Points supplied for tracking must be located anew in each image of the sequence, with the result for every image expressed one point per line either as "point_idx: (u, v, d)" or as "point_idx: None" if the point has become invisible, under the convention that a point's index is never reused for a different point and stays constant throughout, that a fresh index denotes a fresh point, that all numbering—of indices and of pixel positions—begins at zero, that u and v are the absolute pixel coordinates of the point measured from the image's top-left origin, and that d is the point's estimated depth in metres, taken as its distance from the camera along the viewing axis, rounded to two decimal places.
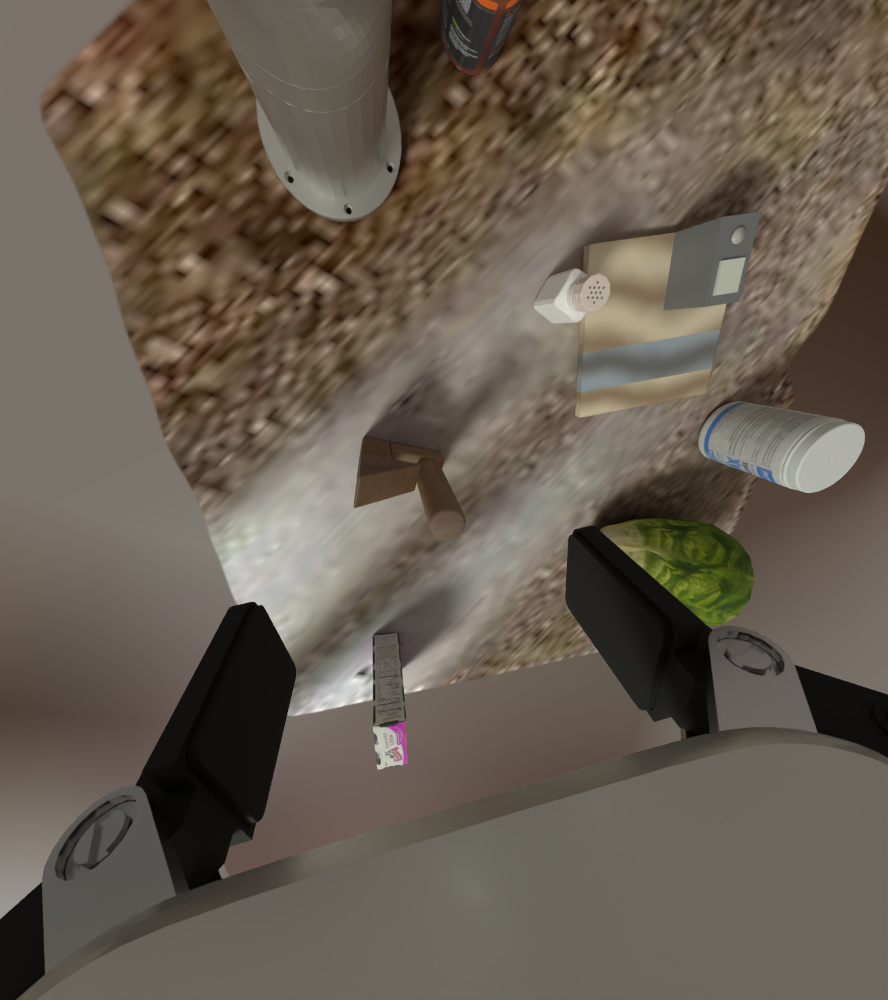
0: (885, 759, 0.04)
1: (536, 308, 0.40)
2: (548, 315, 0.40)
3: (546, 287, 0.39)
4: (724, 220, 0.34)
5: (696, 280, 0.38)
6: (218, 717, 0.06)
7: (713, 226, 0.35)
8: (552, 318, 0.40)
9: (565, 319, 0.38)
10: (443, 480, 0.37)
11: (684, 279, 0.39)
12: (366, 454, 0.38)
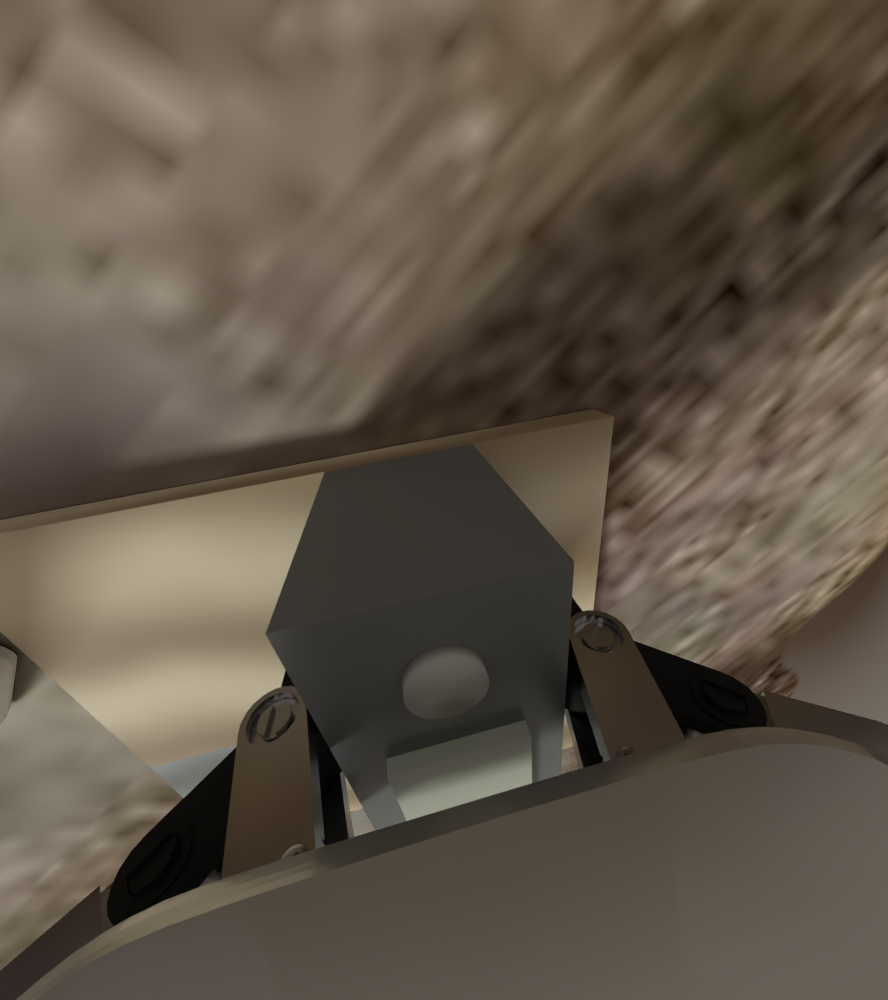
0: (885, 759, 0.04)
1: None
2: None
3: None
4: (302, 642, 0.05)
5: None
6: None
7: None
8: None
9: None
10: None
11: None
12: None
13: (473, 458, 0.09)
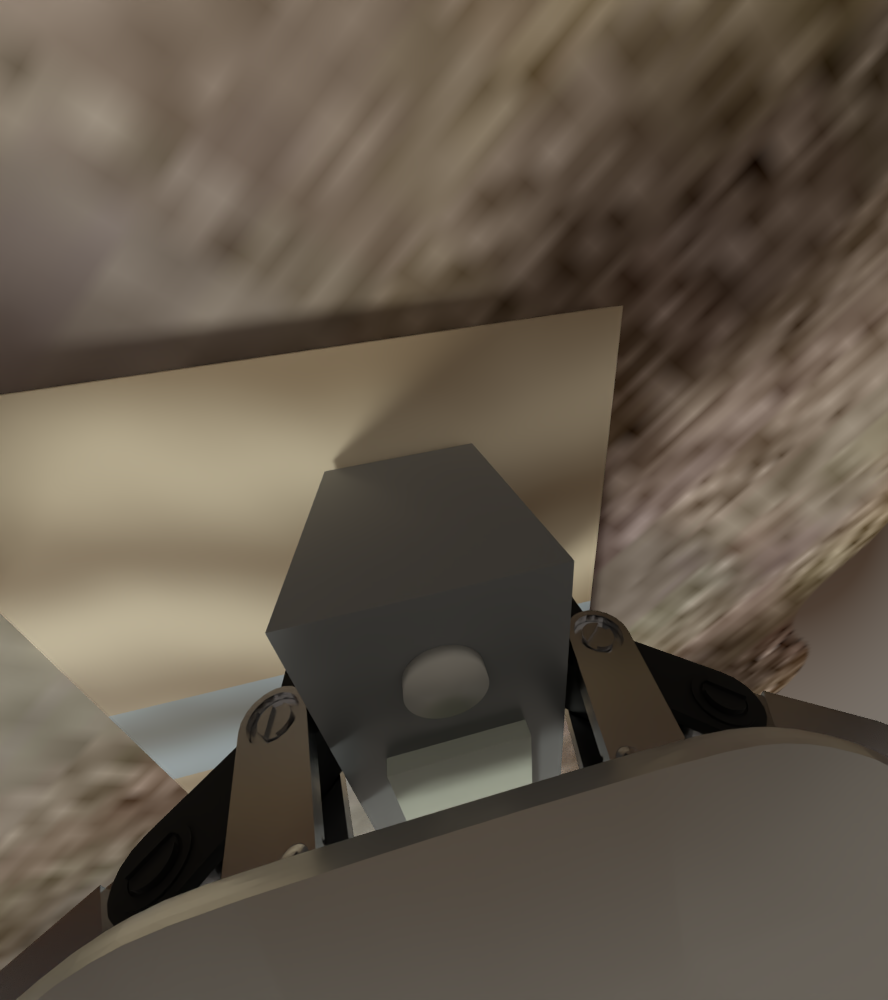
0: (885, 759, 0.04)
1: None
2: None
3: None
4: (301, 642, 0.05)
5: None
6: None
7: None
8: None
9: None
10: None
11: None
12: None
13: (473, 458, 0.09)
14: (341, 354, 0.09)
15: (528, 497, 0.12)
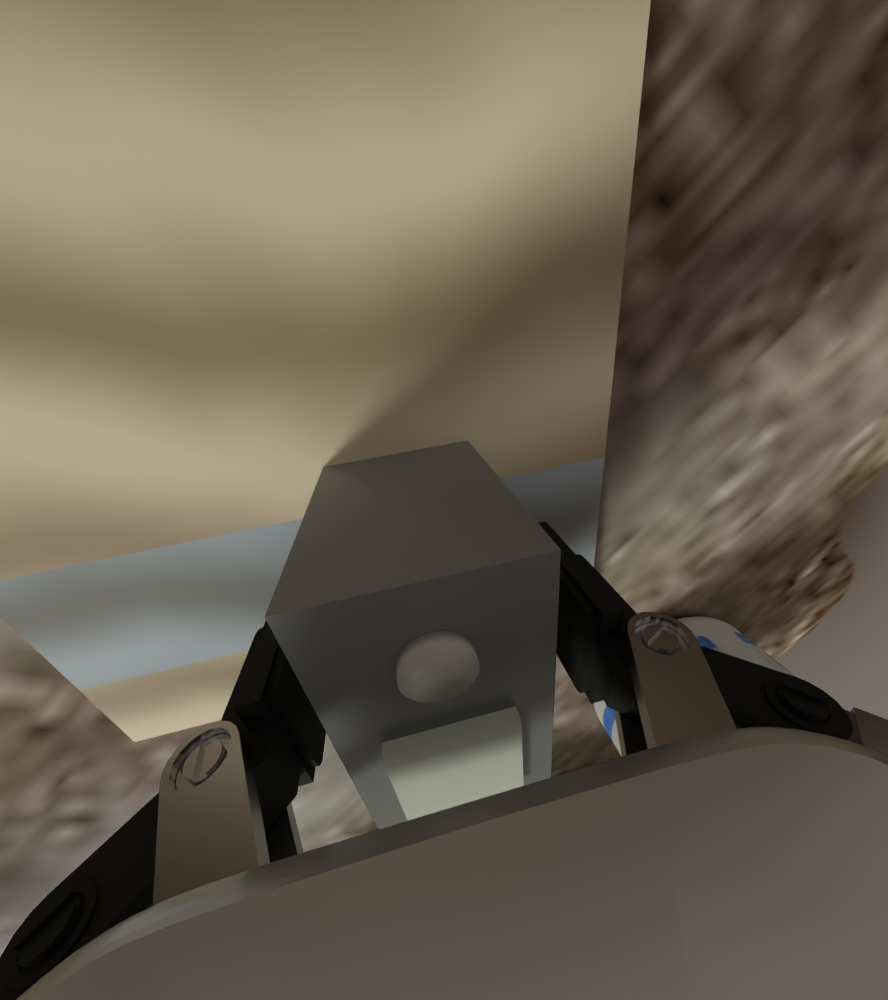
0: (885, 759, 0.04)
1: None
2: None
3: None
4: (299, 626, 0.05)
5: None
6: (288, 668, 0.07)
7: None
8: None
9: None
10: None
11: None
12: None
13: (467, 454, 0.09)
14: None
15: (523, 266, 0.09)
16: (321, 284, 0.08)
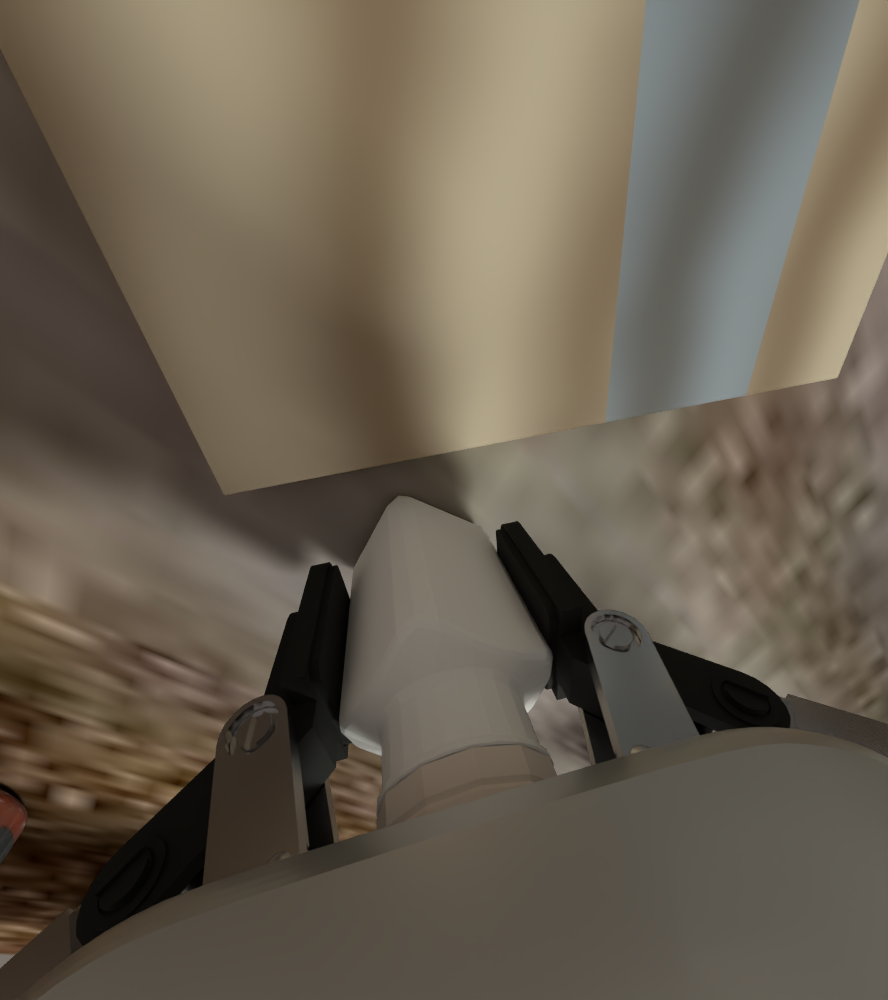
0: (885, 759, 0.04)
1: None
2: None
3: None
4: None
5: None
6: (325, 648, 0.08)
7: None
8: None
9: None
10: None
11: None
12: None
13: None
14: None
15: None
16: None
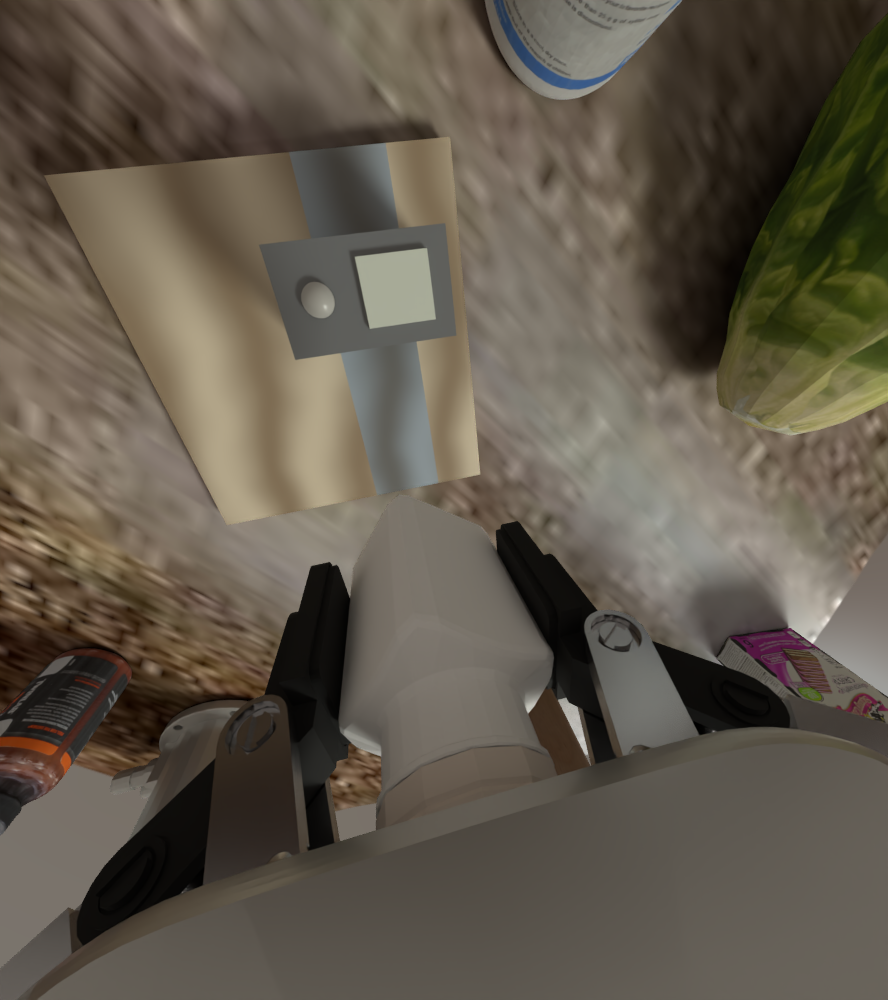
0: (884, 759, 0.04)
1: None
2: None
3: None
4: (299, 350, 0.16)
5: None
6: (326, 647, 0.08)
7: None
8: None
9: None
10: (541, 741, 0.29)
11: None
12: None
13: None
14: (141, 355, 0.20)
15: (195, 235, 0.18)
16: (233, 341, 0.20)
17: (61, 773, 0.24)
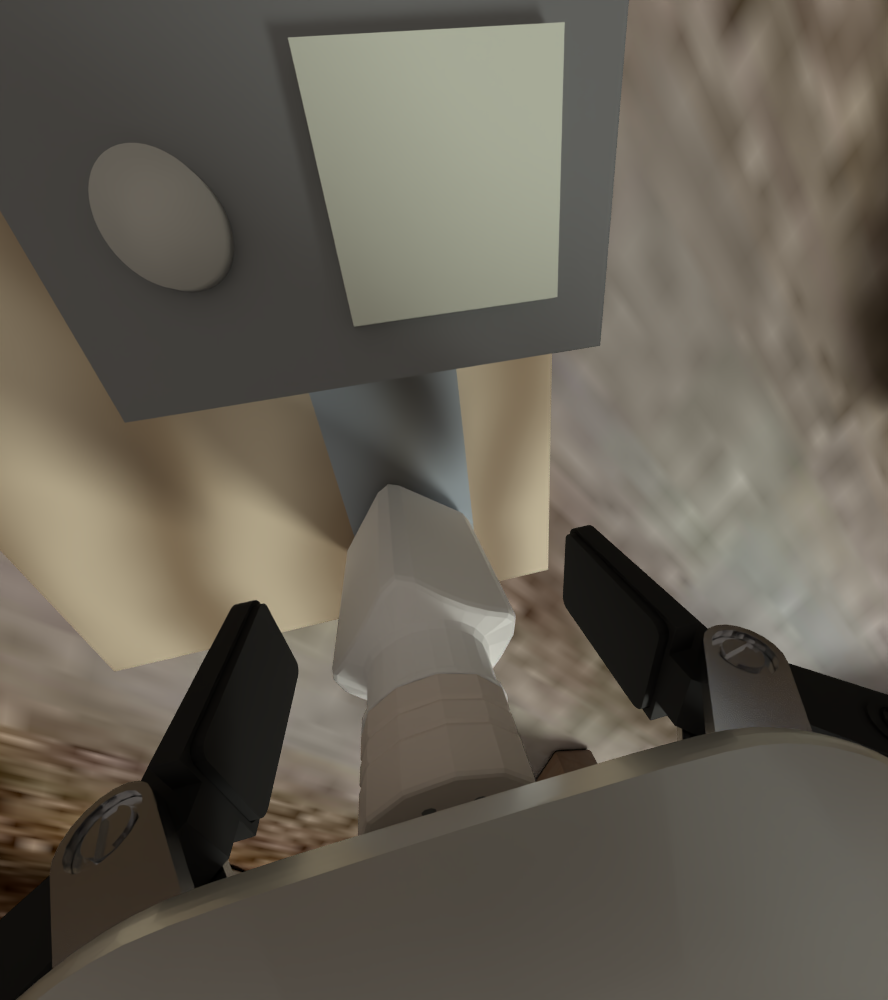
0: (885, 759, 0.04)
1: None
2: None
3: None
4: (133, 394, 0.05)
5: None
6: (222, 713, 0.07)
7: None
8: None
9: None
10: None
11: None
12: None
13: None
14: None
15: None
16: (67, 354, 0.09)
17: None
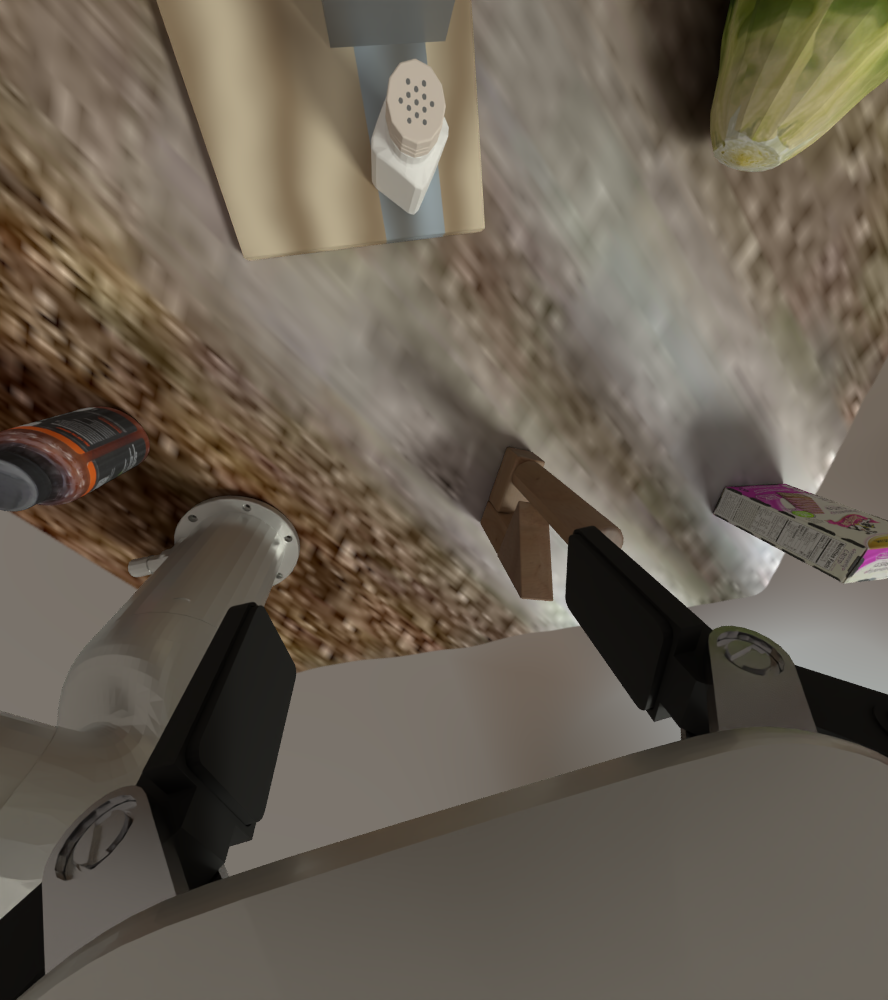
0: (885, 759, 0.04)
1: (417, 209, 0.26)
2: (428, 185, 0.25)
3: (390, 193, 0.25)
4: None
5: None
6: (218, 717, 0.06)
7: None
8: (432, 176, 0.25)
9: (440, 154, 0.22)
10: (543, 497, 0.30)
11: (406, 12, 0.21)
12: (499, 552, 0.37)
13: None
14: (168, 27, 0.21)
15: None
16: (253, 21, 0.21)
17: (87, 478, 0.25)
